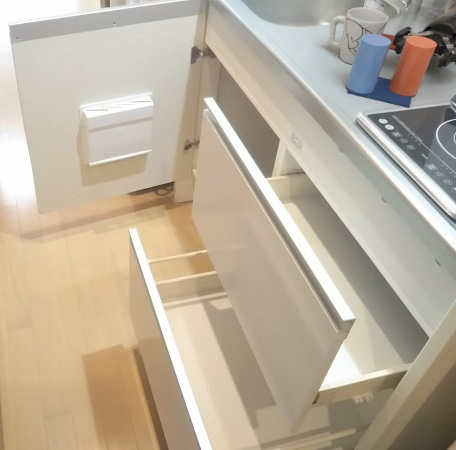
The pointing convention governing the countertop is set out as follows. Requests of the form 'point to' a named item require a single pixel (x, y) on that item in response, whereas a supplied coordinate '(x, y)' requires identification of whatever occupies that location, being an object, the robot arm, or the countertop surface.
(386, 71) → the countertop surface
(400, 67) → the tall orange cylinder
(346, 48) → the mug
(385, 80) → the blue mat
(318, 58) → the countertop surface
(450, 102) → the countertop surface
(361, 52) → the light blue cylinder
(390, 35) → the terracotta mat
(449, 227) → the countertop surface
